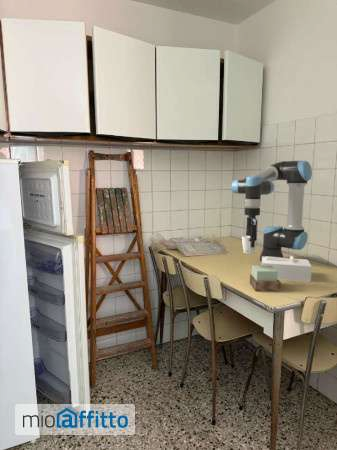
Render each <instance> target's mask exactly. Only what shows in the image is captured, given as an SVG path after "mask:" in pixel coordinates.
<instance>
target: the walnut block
mask: <svg viewBox="0 0 337 450" xmlns="http://www.w3.org/2000/svg"><path fill="white" fill-rule="evenodd" d="M249 284H250V286H251V287H252V289H253V290H254V291H255V292H281V284H282V282H281V281H280V279H277V281H256V280H255V278H254V277H253V276H252V273H250V274H249Z"/></svg>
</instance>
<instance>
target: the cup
mask: <svg viewBox="0 0 337 450" xmlns="http://www.w3.org/2000/svg"><path fill="white" fill-rule="evenodd" d="M249 240H250V236H246V235H242V236H241V242H242V249H243V253H245V254H249V243H250V241H249ZM256 241H257V242H258V245H257V246H256V247H255V252H256V251H257V250H259V248H260V246H261V242H260V240H259V239H258V238H257V240H256Z"/></svg>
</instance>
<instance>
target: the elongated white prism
mask: <svg viewBox="0 0 337 450" xmlns="http://www.w3.org/2000/svg"><path fill="white" fill-rule="evenodd" d="M261 265H267V266H272V267H273V268H275V269H276V270H277V271H278V276H277V279H278V280H287V281H300V282H308V283H311V281H312V268H313V267H312V264H311V263H310V261H309V260H308V259H304V258H295V257H294V255H290V256H289V258H288V257H283V258H281V257H270V256H266V257H263V256H262V261H261Z"/></svg>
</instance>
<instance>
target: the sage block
mask: <svg viewBox="0 0 337 450" xmlns="http://www.w3.org/2000/svg"><path fill="white" fill-rule="evenodd" d="M251 274H252V276H253V277H254V278H255V280H256V281H277V276H278V271H277V270H276V269H275V268H273V267H272V266H267V265H262V264H261V265H256V264H255V265H254V264H253V265H251Z"/></svg>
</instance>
